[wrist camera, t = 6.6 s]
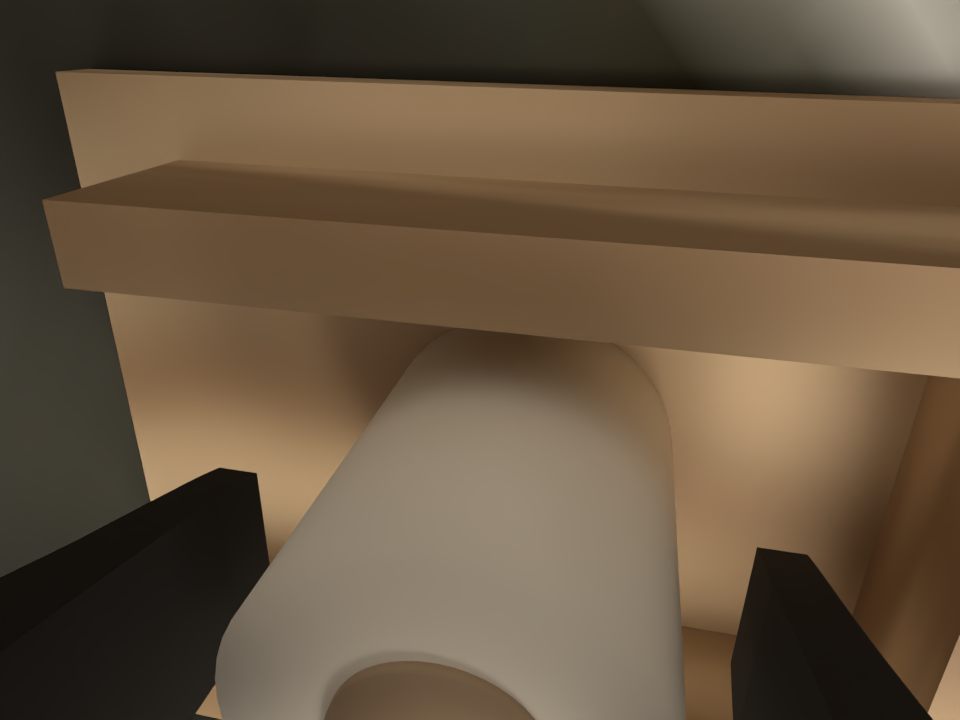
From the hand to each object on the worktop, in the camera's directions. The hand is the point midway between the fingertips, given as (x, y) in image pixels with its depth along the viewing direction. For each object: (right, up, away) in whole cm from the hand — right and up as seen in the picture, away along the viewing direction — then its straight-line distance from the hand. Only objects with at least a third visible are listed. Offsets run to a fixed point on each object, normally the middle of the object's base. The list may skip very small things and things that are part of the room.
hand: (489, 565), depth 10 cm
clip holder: (+1, +2, +3) cm, 4 cm away
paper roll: (+1, +1, +3) cm, 3 cm away
